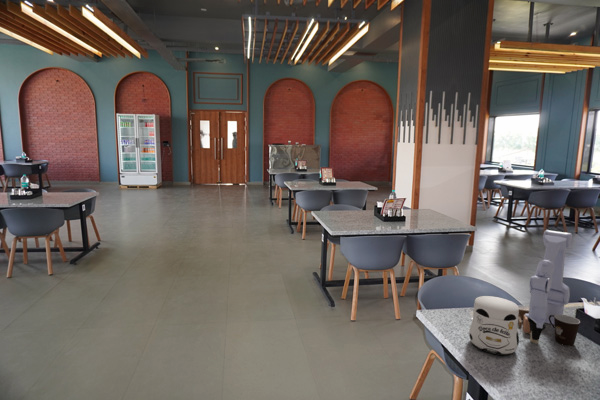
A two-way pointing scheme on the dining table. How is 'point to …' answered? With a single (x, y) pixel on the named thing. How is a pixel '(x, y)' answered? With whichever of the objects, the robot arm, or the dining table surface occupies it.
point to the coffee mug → (565, 329)
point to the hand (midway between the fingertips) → (534, 337)
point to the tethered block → (528, 329)
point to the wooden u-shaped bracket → (521, 316)
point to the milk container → (495, 325)
